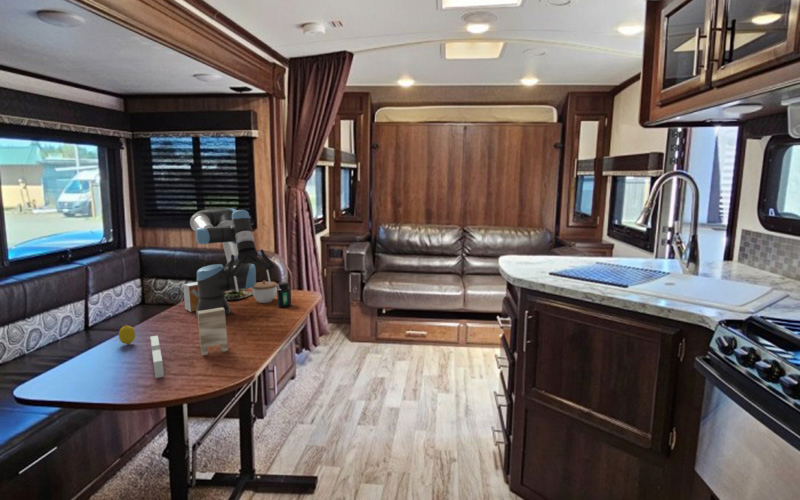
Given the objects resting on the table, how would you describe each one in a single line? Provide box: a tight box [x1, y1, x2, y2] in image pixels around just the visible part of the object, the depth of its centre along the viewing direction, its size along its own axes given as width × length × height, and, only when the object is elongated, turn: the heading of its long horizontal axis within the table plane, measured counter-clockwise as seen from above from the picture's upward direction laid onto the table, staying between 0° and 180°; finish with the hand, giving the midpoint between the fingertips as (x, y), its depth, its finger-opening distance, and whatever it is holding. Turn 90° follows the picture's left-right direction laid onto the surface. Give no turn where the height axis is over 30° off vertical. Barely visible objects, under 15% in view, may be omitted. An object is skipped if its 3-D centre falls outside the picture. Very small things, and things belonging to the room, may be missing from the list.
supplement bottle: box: [276, 281, 293, 309], centre depth 228 cm, size 7×7×12 cm
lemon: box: [118, 324, 136, 346], centre depth 178 cm, size 6×6×8 cm
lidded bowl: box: [251, 280, 278, 304], centre depth 238 cm, size 13×13×11 cm
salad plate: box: [225, 288, 253, 302], centre depth 249 cm, size 19×18×5 cm
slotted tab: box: [197, 308, 229, 356], centre depth 169 cm, size 4×9×16 cm, turn 120°
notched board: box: [149, 335, 165, 379], centre depth 161 cm, size 28×2×6 cm, turn 30°
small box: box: [182, 281, 199, 313], centre depth 225 cm, size 8×6×13 cm
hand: (254, 288), depth 195 cm, fingers open, 13 cm apart
